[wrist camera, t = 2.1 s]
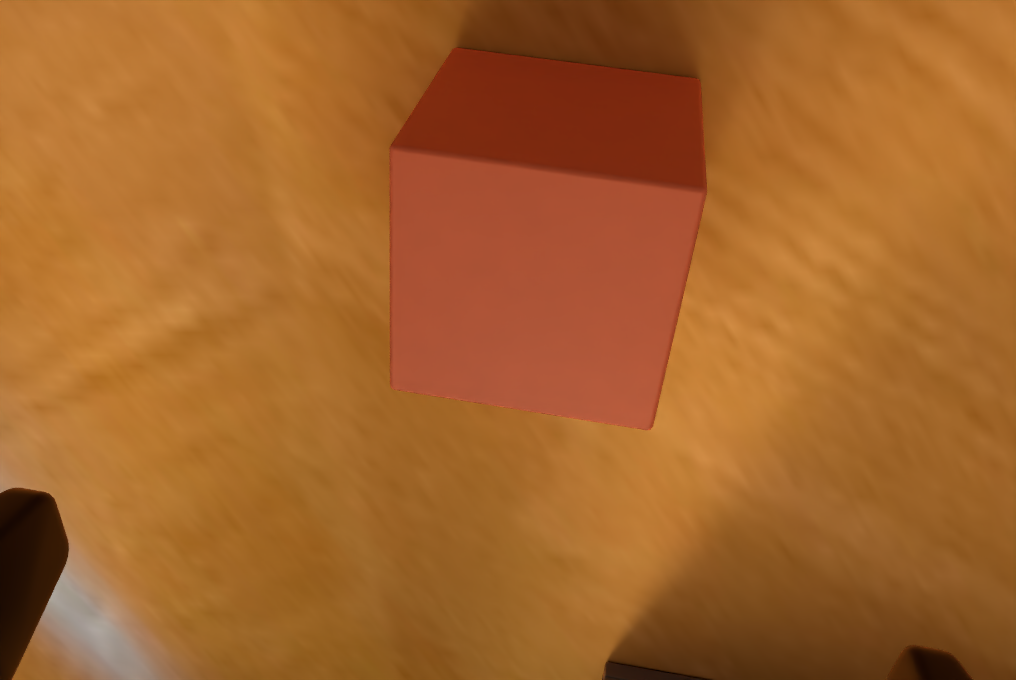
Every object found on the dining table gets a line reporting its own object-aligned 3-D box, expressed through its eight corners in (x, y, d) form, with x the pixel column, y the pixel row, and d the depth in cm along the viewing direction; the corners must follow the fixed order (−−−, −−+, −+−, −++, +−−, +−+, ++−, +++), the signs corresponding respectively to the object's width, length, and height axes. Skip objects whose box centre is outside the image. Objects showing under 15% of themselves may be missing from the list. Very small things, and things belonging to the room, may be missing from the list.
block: (444, 258, 19) (388, 391, 15) (452, 45, 16) (387, 144, 13) (657, 289, 18) (652, 433, 15) (702, 77, 16) (708, 188, 12)
